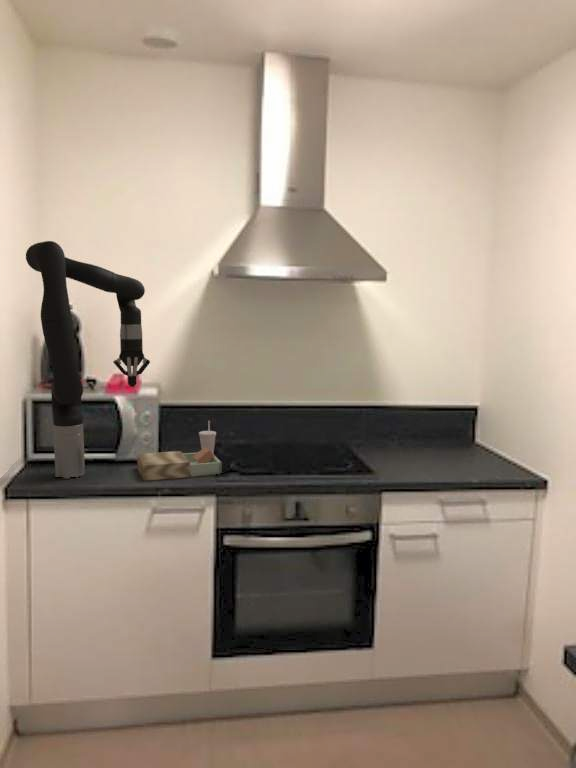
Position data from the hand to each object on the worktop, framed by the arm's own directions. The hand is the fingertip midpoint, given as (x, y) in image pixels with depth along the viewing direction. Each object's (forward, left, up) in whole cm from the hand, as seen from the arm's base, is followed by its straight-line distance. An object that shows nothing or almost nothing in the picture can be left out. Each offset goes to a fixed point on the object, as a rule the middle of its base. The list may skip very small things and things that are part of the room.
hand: (132, 386), depth 228 cm
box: (+20, -18, -27) cm, 38 cm away
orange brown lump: (+21, -16, -22) cm, 34 cm away
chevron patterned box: (+8, -18, -27) cm, 33 cm away
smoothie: (+26, -4, -27) cm, 38 cm away
